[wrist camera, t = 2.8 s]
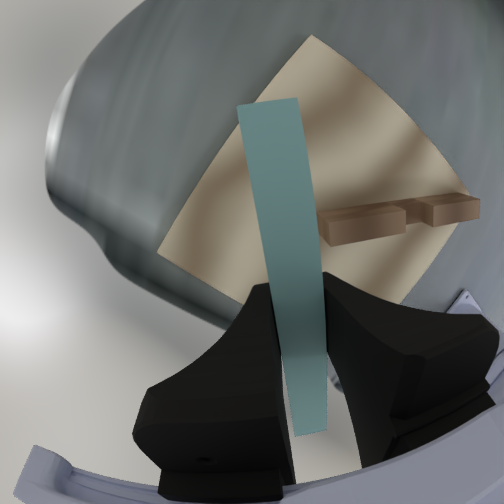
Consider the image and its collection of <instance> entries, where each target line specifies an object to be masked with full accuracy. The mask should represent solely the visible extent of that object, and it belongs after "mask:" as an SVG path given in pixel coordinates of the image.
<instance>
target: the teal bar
mask: <svg viewBox="0 0 504 504" xmlns="http://www.w3.org/2000/svg"><path fill="white" fill-rule="evenodd" d="M236 108H237V114H238V119H239V124H240V130H241V135H242V140H243V145H244V150H245V155H246V161H247V166H248V171H249V176H250V182H251V187H252V192H253V198H254V203H255V208H256V214H257V219H258V224H259V230H260V235H261V241H262V246H263V252H264V257H265V263H266V268H267V274H268V280H269V285H270V290H271V296H272V302H273V307H274V313H275V319H276V325H277V331H278V336H279V342H280V348H281V355H282V361H283V366H284V373H285V379H286V385H287V390H288V397H289V403H290V409H291V415H292V422H293V427H294V434H295V436H301V435H306V434H311V433H316V432H320V431H325V430H326V424H327V349H326V323H325V304H324V289H323V276H322V264H321V253H320V243H319V233H318V224H317V216H316V208H315V200H314V192H313V185H312V178H311V172H310V165H309V159H308V153H307V147H306V141H305V135H304V130H303V124H302V119H301V114H300V109H299V104H298V99H297V97H296V98H287V99H278V100H271V101H264V102H257V103H251V104H245V105H239V106H236Z"/></svg>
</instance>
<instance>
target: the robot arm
mask: <svg viewBox="0 0 504 504" xmlns="http://www.w3.org/2000/svg"><path fill="white" fill-rule="evenodd" d="M322 276H323V289H324V304H325V323H326V349H327V353H328V355H329V357H330V359H331V362H332V364H333V366H334V368H335V371H336V373H337V375H338V377H339V380H340V382H341V385H342V388H343V391H344V395H345V398H346V401H347V405H348V409H349V412H350V416H351V420H352V423H353V428H354V432H355V436H356V441H357V445H358V449H359V455H360V460H361V465H362V469H360V470H357V471H353V472H350V473H346V474H342V475H339V476H334V477H330V478H326V479H321V480H316V481H311V482H306V483H300V484H296V479H295V472H294V466H293V459H292V452H291V446H290V439H289V433H288V425H287V419H286V412H285V405H284V398H283V384H282V361H281V348H280V342H279V336H278V331H277V325H276V319H275V313H274V307H273V302H272V296H271V290H270V285H269V282H267V283H262V284H256V285H254V286H253V287H252V289H251V291H250V294H249V296H248V298H247V300H246V302H245V304H244V305H243V307H242V309H241V311H240V312H239V314H238V315H237V317H236V318H235V320H234V321H233V323H232V324H231V326H230V327H229V328H228V330H227V331H226V332H225V333H224V335H223V336H222V337H221V338H220V339H219V340H218V341H217V342H216V343H215V344H214V345H213V346H212V347H211V348H210V349H208V350H207V351H206V352H205V353H204V354H203V355H202V356H200V357H199V358H198V359H197V360H195V361H194V362H193V363H191V364H190V365H188V366H187V367H185V368H184V369H182V370H181V371H179V372H178V373H176V374H175V375H173V376H171V377H169V378H167V379H165V380H164V381H162V382H160V383H158V384H156V385H154V386H152V387H150V388H148V389H147V391H146V394H145V396H144V398H143V401H142V403H141V406H140V409H139V413H138V416H137V419H136V423H135V425H134V429H133V432H132V435H133V439H134V441H135V443H136V444H137V445H138V447H139V448H140V449H141V450H142V452H144V453H145V454H146V456H148V457H149V458H150V459H151V460H152V461H153V462H154V463H155V464H156V465H157V466H158V467H159V468H160V469H161V475H160V481H159V486H153V485H146V484H140V483H134V482H129V481H124V480H119V479H115V478H111V477H107V476H103V475H99V474H95V473H92V472H88V471H85V470H82V469H79V468H75V467H73V466H72V465H71V464H70V463H69V462H68V461H67V460H66V459H64V458H63V457H62V456H60V455H58V454H57V453H55V452H52V451H50V450H47V449H45V448H42V447H40V446H37V445H34V446H33V448H32V450H31V452H30V455H29V457H28V459H27V461H26V463H25V465H24V468H23V470H22V472H21V475H20V477H19V479H18V482H17V484H16V487H15V489H14V492H13V494H14V496H15V497H16V498H18V499H19V500H21V501H22V502H24V503H25V504H504V333H503V332H502V331H501V330H500V329H499V328H498V327H497V326H496V325H495V324H494V323H493V322H492V321H491V320H490V319H488V318H487V317H486V316H485V315H484V314H483V312H482V311H481V309H480V308H479V306H478V305H477V303H476V302H475V300H474V299H473V297H472V296H471V295H470V293H469V292H468V291H467V290H463V291H462V293H461V294H460V296H459V297H458V298H457V300H456V301H455V302H454V303H453V305H452V306H451V307H450V309H449V310H448V311H447V312H446V313H440V312H432V311H425V310H420V309H416V308H411V307H407V306H403V305H399V304H396V303H393V302H390V301H387V300H384V299H381V298H379V297H376V296H374V295H372V294H369V293H367V292H365V291H363V290H361V289H358V288H357V287H355V286H353V285H351V284H349V283H347V282H345V281H343V280H341V279H340V278H338V277H336V276H334V275H332V274H330V273H328V272H326V271H325V272H322Z"/></svg>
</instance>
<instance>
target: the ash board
mask: <svg viewBox="0 0 504 504" xmlns="http://www.w3.org/2000/svg"><path fill="white" fill-rule="evenodd" d="M296 97H297V99H298V104H299V109H300V114H301V119H302V124H303V130H304V135H305V141H306V147H307V153H308V159H309V165H310V172H311V178H312V185H313V192H314V200H315V208H316V212H321V211H327V210H333V209H340V208H346V207H353V206H359V205H366V204H373V203H380V202H387V201H394V200H401V199H409V198H416V197H424V196H432V195H440V194H449V193H457V192H459V193H462V194H465V195H468V196H470V194H469V193H468V191H467V190H466V188H465V187H464V185H463V184H462V182H461V181H460V179H459V178H458V176H457V175H456V173H455V172H454V171H453V169H452V168H451V167H450V165H449V164H448V162H447V161H446V160H445V158H444V157H443V156H442V155H441V153H440V152H439V151H438V150H437V148H436V147H435V146H434V145H433V143H432V142H431V141H430V140H429V139H428V137H427V136H426V135H425V134H424V133H423V132H422V130H421V129H420V128H419V127H418V126H417V125H416V124H415V123H414V121H413V120H412V119H411V118H410V117H409V116H408V115H407V114H406V113H405V112H404V111H403V110H402V109H401V108H400V107H399V106H398V105H397V104H396V103H395V102H394V101H393V100H392V99H391V98H390V97H389V96H388V95H387V94H386V93H385V92H384V91H383V90H382V89H381V88H379V87H378V86H377V85H376V84H375V83H374V82H373V81H372V80H371V79H369V78H368V77H367V76H366V75H365V74H364V73H362V72H361V71H360V70H359V69H357V68H356V67H355V66H354V65H353V64H351V63H350V62H349V61H347V60H346V59H345V58H344V57H342V56H341V55H340V54H338V53H337V52H336V51H334V50H333V49H331V48H330V47H329V46H327V45H326V44H324V43H323V42H321V41H320V40H318V39H317V38H315V37H314V36H312V35H311V36H310V37H309V38H308V39H307V40H306V41H305V42H304V43H303V44H302V45H301V47H300V48H299V49H298V50H297V51H296V52H295V53H294V55H293V56H292V57H291V58H290V59H289V60H288V62H287V63H286V64H285V65H284V66H283V68H282V69H281V70H280V71H279V72H278V74H277V75H276V76H275V77H274V78H273V80H272V81H271V82H270V83H269V85H268V86H267V87H266V88H265V90H264V91H263V92H262V94H261V95H260V96H259V97H258V99H257V100H256V101H255V103H257V102H264V101H271V100H278V99H287V98H296ZM316 216H317V213H316ZM458 223H459V222H458ZM458 223H453V224H448V225H443V226H438V227H431V226H429V225H427V224H425V223H423V222H420V223H414V224H409V225H406V233H403V234H397V235H392V236H387V237H382V238H376V239H371V240H366V241H361V242H355V243H350V244H345V245H339V246H334V247H330V246H329V245H328V243H327V242H326V241H325V240H324V239H323V238H322V236H321V235H320V234H319V243H320V253H321V264H322V272H325V271H326V272H328V273H330V274H332V275H334V276H336V277H338V278H340V279H341V280H343V281H345V282H347V283H349V284H351V285H353V286H355V287H357V288H358V289H361V290H363V291H365V292H367V293H369V294H372V295H374V296H376V297H379V298H381V299H384V300H387V301H390V302H393V303H396V304H400V302H401V301H402V300H403V299H404V298H405V296H406V295H407V294H408V293H409V291H410V290H411V289H412V288H413V287H414V285H415V284H416V283H417V281H418V280H419V279H420V278H421V276H422V275H423V274H424V272H425V271H426V270H427V268H428V267H429V266H430V264H431V263H432V262H433V260H434V259H435V257H436V256H437V255H438V253H439V252H440V250H441V249H442V247H443V246H444V244H445V243H446V241H447V240H448V238H449V237H450V235H451V234H452V232H453V231H454V229H455V228H456V226H457V224H458ZM317 224H318V221H317ZM318 233H319V230H318ZM157 253H158V254H160V255H161V256H163V257H165V258H166V259H168V260H169V261H171V262H172V263H174V264H176V265H177V266H179V267H180V268H182V269H184V270H185V271H187V272H189V273H190V274H192V275H194V276H195V277H197V278H198V279H200V280H202V281H203V282H205V283H207V284H208V285H210V286H212V287H214V288H215V289H217V290H219V291H220V292H222V293H224V294H225V295H227V296H229V297H231V298H232V299H234V300H236V301H238V302H239V303H241V304H243V305H244V304H245V302H246V300H247V298H248V296H249V294H250V291H251V289H252V287H253V286H254V285H256V284H262V283H267V282H269V280H268V274H267V268H266V263H265V257H264V252H263V246H262V241H261V235H260V230H259V224H258V219H257V214H256V208H255V203H254V198H253V192H252V187H251V182H250V176H249V171H248V166H247V161H246V155H245V150H244V145H243V140H242V135H241V130H240V124H238V125H237V127H236V128H235V130H234V131H233V132H232V134H231V135H230V137H229V138H228V139H227V141H226V142H225V144H224V145H223V147H222V148H221V149H220V151H219V152H218V154H217V155H216V157H215V158H214V160H213V161H212V163H211V164H210V166H209V167H208V169H207V170H206V172H205V173H204V175H203V176H202V178H201V179H200V181H199V183H198V184H197V186H196V187H195V189H194V190H193V192H192V194H191V195H190V197H189V198H188V200H187V202H186V203H185V205H184V207H183V208H182V210H181V211H180V213H179V215H178V216H177V218H176V220H175V221H174V223H173V225H172V227H171V228H170V230H169V232H168V233H167V235H166V237H165V239H164V240H163V242H162V244H161V246H160V248H159V249H158V251H157Z"/></svg>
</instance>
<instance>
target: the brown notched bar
mask: <svg viewBox="0 0 504 504" xmlns="http://www.w3.org/2000/svg"><path fill="white" fill-rule="evenodd" d="M316 213H317V221H318V230H319V234H320V235H321V236H322V238H323V239H324V240H325V241H326V242H327V243H328V245H329V246H330V247H334V246H339V245H345V244H350V243H355V242H361V241H366V240H371V239H376V238H382V237H387V236H392V235H397V234H403V233H406V225H409V224H414V223H420V222H423V223H425V224H427V225H429V226H431V227H438V226H443V225H448V224H453V223H458V222H463V221H468V220H473V219H478V218H479V216H480V199H478V198H475V197H472V196H468V195H465V194H462V193H459V192H457V193H449V194H440V195H432V196H424V197H416V198H409V199H401V200H394V201H387V202H380V203H373V204H366V205H359V206H353V207H346V208H340V209H333V210H327V211H321V212H316Z"/></svg>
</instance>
